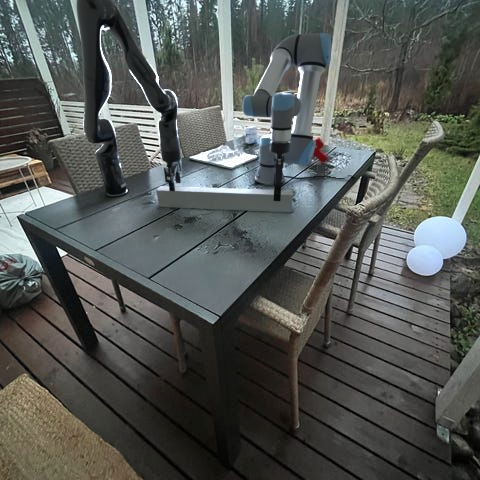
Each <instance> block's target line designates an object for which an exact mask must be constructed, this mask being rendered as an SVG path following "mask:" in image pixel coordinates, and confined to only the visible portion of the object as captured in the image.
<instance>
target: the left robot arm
mask: <svg viewBox="0 0 480 480" xmlns="http://www.w3.org/2000/svg"><path fill="white" fill-rule="evenodd" d="M75 3H76V4H75V5H76V6H75V7H76V15H77V16H76V17H77V23H78V28H79V36H80V45H81V59H82V79H83V80H82V81H83V82H82V83H83V99H84V103H83V104H84V109H83V133H84V136H85V138H86V140H87V141H88V142H89V144H90V143H91V144H93V145H94V144H95V145H96V144H102V145H101V147H100V148H98V149H97V150H96V151H95V158H96V162H97V164H98V168H99V172H100V176H101V178H102V182H103V185H104V189H105V193H106V196H108V197H112V198H115V197H122V196H125V195H126V194H127V193H128V192H129V191H128V189H127V183H126V180H125V176H124V173H123V168H122V164H121V160H120V156H119V147H118V146H119V145H118V142H117V134H116V131H115V128H114V126H113V123H112V121H111V120H109V118H106V117H102V118H100V114H101V112H102V109H103V107H104V106H105V105H106V103H107V101H108V99H109V97H110V95H111V91H112V72H111V69H110V66H109V64H108V62H107V60H106V58H105V55H104V53H103V50H102V42H101V41H102V40H101V36H102V30H108V31H109V32H110V34H111V35H112V36H113V37H114V38H115V40H116V41H117V43H118V44H119V47H120V49H121V52H122V55H123V59H124V63H125V65H126V66H127V69H128V70H129V72H130V74H131V75H132V76H133V78H134V79H135V80H136V82H137V83H138V84H139V86H140V87H141V89H142V91H143V93H144V95H145V98H146V100H147V101H148V104H149V105H150V106H151V108H152V109H153V110H154V111H155V112H157V113H159V114H160V119H159V120H158V121H157V129H158V138H159V147H160V155H161V160H162V162H164V163H166V167H163V173H164V179H165V183H168V186H169V190H170V191H175V186H176V185H175V184H181V183H182V179H181V174H182V171H183V169H182V164H181V160H182V153H181V152H182V151H181V145H180V137H179V132H178V126H177V125H178V124H177V121H178V109H179V107H178V106H179V105H178V99H177V96H176V94H175V93H174V91H172V90H170V89H162V88H161V86H160V84H159V80H160V79H159V76H158V74H157V72H156V70H155V69H154V68H153V66H152V65H151V63H150V62H149V60H148V59H147V58H146V56H145V55H144V53H143V51H142V50H141V49H140V47H139V46H138V44H137V42H136V40H135V38H134V36H133V35H132V33H131V31H130V29H129V27H128V25H127V23H126V22H125V19H124V17H123V16H122V14H121V12H120V10H119V8H118V6H117V5H116V3H115V1H113V0H76V2H75Z"/></svg>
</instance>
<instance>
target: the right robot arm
mask: <svg viewBox="0 0 480 480" xmlns="http://www.w3.org/2000/svg"><path fill="white" fill-rule="evenodd" d="M269 60H270V61H269V64H268V66H267V68H266V69H265V71H264V74H263V75H262V77H261V79H260V81H259V83H258V85H257V86H256V89H255V91H254V93H253V94H248V95H247V94H246V95H245V96H244V97H243V98H242V99H243V100H242V112H243V114H244V115H245V116H247V117H253V118H269V119H270V130H269V131H268V134H266V135H263V136H261V137H260V139H259V147H258V148H259V153H258V157H259V158H258V167H257V171H256V172H255V177H254V181H255V183H258V184H259V185H262V186H263V185H264V186H272V187H273V190H274V200H273V201H280V200H281V190H282V186H283V183H284V181H285V178H286V179H294V180H306V179H307V180H308V179H313V178H315V179H316V178H330V179H333V180H334V179H335V180H345V179H346V178H336V177H337V176H333V177H331V176H332V175H327V176H318V175H312V176H313V177H308V176H303V177H302V176H301V177H296V176H291V175H284V172H283V171H284V164H290V165H291V164H292V165H298V166H300V165H301V166H307V165H308V164H309V163H310V162H311V160H312V159H311V158H312V156H313V153H314V149H315V144H316V141H315V139H314V135H313V133H312V131H311V130H312V128H313V127H312V126H313V122H314V115H315V111H316V110H315V109H316V105H317V99H318V92H319V87H320V82H321V81H320V80H321V76H322V74H323V73H325V72H326V67H329V66H330V65H331V60H332V36H331V34H329V33H327V32H324V33H323V32H322V33H321V32H319V33H318V32H317V33H316V32H315V33H301V34H300V33H297V34H292V35H290V36H288V37H286V38H284V39H283V40H282V41H281V42H279V43H278V44H277V45H276V47H275V48H274V49H273V51H272V52H271V54H270V58H269ZM291 67H298V71H299V73H300V80H299V86H298V92H297V95H294V94H293V93H291V92H276V91H277V89H278V88H279V86H280V83H281V81H282V79H283V78H284V75H285V72H287V71H288V70H289V69H290V68H291ZM293 118H294V119H293ZM347 176H352V177H350V178H351V179H354V176H353V175H351V174H348V175H347Z"/></svg>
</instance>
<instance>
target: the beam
mask: <svg viewBox="0 0 480 480" xmlns="http://www.w3.org/2000/svg"><path fill="white" fill-rule="evenodd" d="M155 192H156V198H157V203H158V207H159V208H175V209H176V208H178V209H201V210H223V211H224V210H225V211H247V212H267V213H268V212H272V213H292V212H293V211H292V210H293V201H294V190H291V189H290V190H288V189H281V200H280V201H273V200H274V189H261V188H259V189H258V188H234V187H233V188H232V187H231V188H230V187H202V186H198V187H197V186H176V185H175V191H170V190H169V185H159V187H158V188H157V189H156V190H155Z"/></svg>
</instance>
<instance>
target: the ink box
mask: <svg viewBox="0 0 480 480" xmlns="http://www.w3.org/2000/svg"><path fill="white" fill-rule="evenodd" d="M254 143H258V126H257V125H256V126H255V125H251V126H246V127H245V144H248V145H251V144H254Z"/></svg>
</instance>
